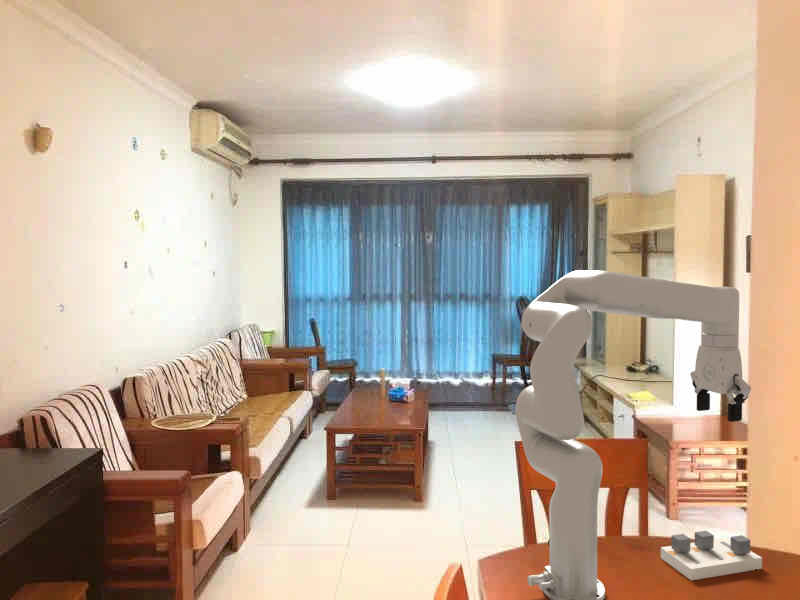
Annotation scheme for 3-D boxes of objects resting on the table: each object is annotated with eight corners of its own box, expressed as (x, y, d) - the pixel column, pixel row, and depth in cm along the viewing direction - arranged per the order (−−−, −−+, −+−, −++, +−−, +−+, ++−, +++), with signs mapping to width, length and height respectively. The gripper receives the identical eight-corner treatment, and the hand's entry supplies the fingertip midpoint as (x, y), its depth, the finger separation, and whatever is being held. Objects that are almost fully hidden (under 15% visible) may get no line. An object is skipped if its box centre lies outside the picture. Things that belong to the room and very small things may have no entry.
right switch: (738, 554, 133) (738, 541, 133) (730, 549, 136) (730, 536, 135) (750, 553, 134) (750, 540, 134) (741, 548, 136) (741, 535, 136)
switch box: (691, 580, 129) (691, 568, 129) (660, 557, 138) (660, 546, 138) (761, 568, 133) (762, 557, 133) (727, 547, 143) (727, 536, 142)
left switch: (678, 553, 135) (678, 540, 134) (671, 548, 137) (671, 535, 137) (690, 551, 135) (690, 538, 135) (682, 546, 138) (683, 533, 137)
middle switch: (702, 549, 136) (702, 536, 136) (694, 544, 138) (694, 532, 138) (713, 548, 137) (713, 535, 136) (705, 543, 139) (706, 530, 139)
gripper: (679, 337, 145) (678, 407, 146) (734, 347, 128) (733, 427, 129) (706, 335, 146) (705, 405, 148) (764, 345, 129) (762, 424, 131)
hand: (718, 415), depth 138 cm, fingers open, 9 cm apart
